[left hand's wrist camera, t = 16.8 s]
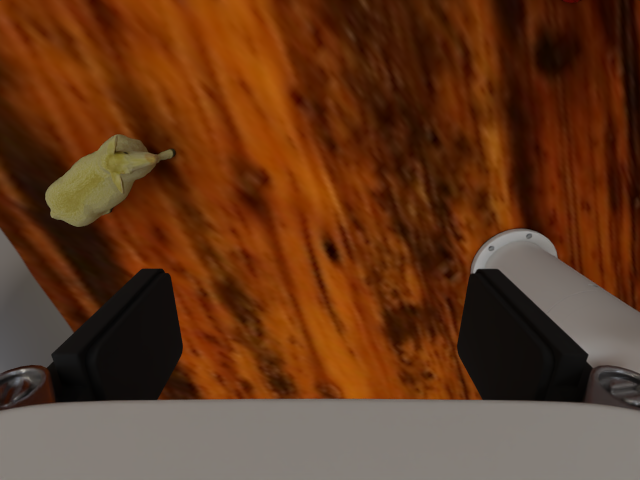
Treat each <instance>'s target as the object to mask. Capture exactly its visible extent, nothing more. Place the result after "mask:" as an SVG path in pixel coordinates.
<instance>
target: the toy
mask: <svg viewBox="0 0 640 480" xmlns="http://www.w3.org/2000/svg"><path fill="white" fill-rule="evenodd" d="M174 156H175V150H174V149H169V150H166V151H165V152H161V153H160V154H158V155H156V154H151V153H148V151H147V149H146V147H145V146H144V145H143V143H142V142H141V141H140V140H136V139H131V138H128V137H126V136H124V135H120V134H119V135H115V136H113V137H111V138H109V139H108V140H107V141H106V142H105V143H104V144H103V145H102V146H101V147H100V149H99V150H98V151H96V152H94V153H92V154H89V155H87V156H85V157H83V158H81V159H80V160H79V161H78V162H76V163H75V164H74V165H73V166H72V168H71V169H70V170H69V171H68V172H67V173H65V175H64V176H63V177H61V178H59V179H58V180H57V181H55V182H54V183H53V184H52V185H51V186H50V187H49V188H48V190H47V192H46V202H47V204H48V205H49V207H50V208H51V212H50V214H51V217H52V218H55V219H57V220H60V219H61V220H64V221H65V222H67V223H69V224H71V225H74V226H77V227H80V226H85V225H88V224H90V223H92V222H93V221H95V220H96V219H97V218H99V217H100V216H101V215H104V214H108V213H110V212H111V211H112V208H113V207H114V206H116V205H117V204H119V203H120V202H122V201H123V200H124V199H125V198H126V197H127V195H128V194H129V192H130V190H131V188H132V185H133V183H134V181H135V180H136V179H140V178H142V177H144V176H145V175H146V174H148V173H149V172H150V171H151V170H152V169H153V168H154V167H155V165H156V163H158V162H159V161H160V160H165V159H169V158H172V157H174Z"/></svg>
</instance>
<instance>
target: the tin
mask: <svg viewBox="0 0 640 480" xmlns="http://www.w3.org/2000/svg"><path fill="white" fill-rule="evenodd" d="M563 1H564V2H568V3H575V2H579V1H581V0H563Z"/></svg>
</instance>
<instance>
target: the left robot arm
mask: <svg viewBox="0 0 640 480" xmlns="http://www.w3.org/2000/svg"><path fill="white" fill-rule="evenodd" d="M182 349H183V344H182V338H181V332H180V327H179V321H178V315H177V310H176V304H175V298H174V293H173V287H172V281H171V277H170V275H169V274H168V273H165V272H164V270H163V269H141V270H140V271H139V272H138V273H137V274H136V275H135V276H134V277H133V278H132V279H131V280H129V281H128V282H127V283H126V284H125V285H124V286H123V287H122V288H121V289H120V290H119V291H118V292H117V293H116V294H115V295H114V296H113V297H112V298H110V299H109V300H108V301H107V302H106V303H105V304H104V305H103V306H102V307H101V308H100V309H99V310H98V311H97V312H96V313H95V314H94V315H93V316H91V317H90V318H89V319H88V320H87V321H86V322H85V323H84V324H83V325H82V326H81V327H80V328H79V329H78V330H77V331H76V332H75V333H74V334H72V336H70V337H69V338H68V339H67V340H66V341H65V342H64V343H63V344H62V345H61V346H60V347H59V348H58V349H57V350H56V351H55V352H53V353H52V358H53V362H52V363H51V364H50V365H49V366H48V367H47V368H45V367H43V366H38V365H29V366H22V367H18V368H14V369H11V370H8V371H5V372H3V373H1V374H0V480H640V312H638V311H637V310H635V309H633V308H632V307H630V306H629V305H627V304H626V303H624V302H622V301H621V300H619V299H618V298H616V297H615V296H613V295H612V294H610V293H609V292H607V291H606V290H604V289H603V288H601V287H600V286H598V285H597V284H595V283H594V282H592V281H591V280H589V279H588V278H586V277H585V276H583V275H582V274H580V273H579V272H577V271H576V270H574V269H573V268H571V267H570V266H568V265H567V264H565V263H564V262H562V261H561V260H559V259H558V257H557V252H556V249H555V247H554V245H553V244H552V243H551V241H550V240H549V239H547V238H546V237H545V236H543V235H542V234H540V233H538V232H536V231H533V230H530V229H512V230H508V231H505V232H502V233H500V234H497V235H496V236H494V237H492V238H491V239H489V240H488V241H487V242H486V243H485V244H484V245H483V246H482V247H481V248H480V249H479V251H478V252H477V254H476V256H475V257H474V260H473V263H472V267H471V275H470V277H469V281H468V287H467V293H466V298H465V304H464V310H463V315H462V321H461V327H460V332H459V338H458V344H457V349H458V354H459V357H460V359H461V360H462V362H463V364H464V366H465V368H466V370H467V372H468V373H469V375H470V377H471V379H472V381H473V383H474V384H475V386H476V388H477V390H478V392H479V394H480V395H481V397H482V399H483V400H409V399H223V400H157V399H158V397H159V395H160V394H161V392H162V390H163V388H164V386H165V384H166V383H167V381H168V379H169V377H170V375H171V373H172V372H173V370H174V368H175V366H176V364H177V362H178V360H179V359H180V357H181V354H182Z"/></svg>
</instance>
